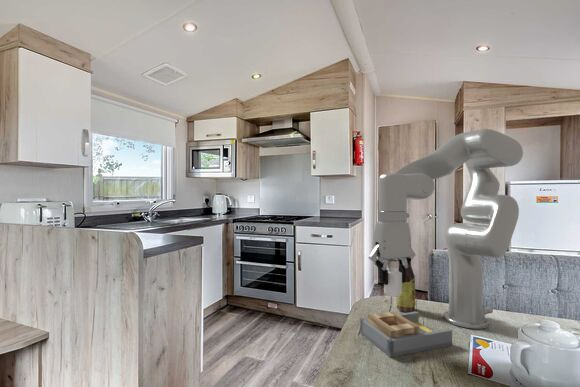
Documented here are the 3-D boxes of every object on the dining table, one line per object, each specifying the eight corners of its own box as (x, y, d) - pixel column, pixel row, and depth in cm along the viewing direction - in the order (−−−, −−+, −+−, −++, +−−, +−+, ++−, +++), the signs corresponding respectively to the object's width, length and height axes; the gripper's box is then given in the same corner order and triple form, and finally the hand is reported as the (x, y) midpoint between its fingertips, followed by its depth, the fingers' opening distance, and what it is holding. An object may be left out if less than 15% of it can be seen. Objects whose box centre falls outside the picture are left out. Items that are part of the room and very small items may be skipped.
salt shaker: (388, 291, 87) (388, 258, 87) (402, 294, 85) (402, 260, 85) (383, 294, 84) (383, 260, 84) (397, 297, 82) (397, 262, 82)
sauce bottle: (416, 313, 104) (416, 256, 104) (397, 312, 105) (397, 255, 105) (413, 306, 110) (413, 252, 110) (395, 305, 111) (395, 251, 111)
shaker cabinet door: (393, 326, 91) (393, 311, 91) (419, 343, 81) (419, 326, 81) (367, 330, 88) (367, 315, 88) (390, 348, 78) (390, 331, 78)
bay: (415, 324, 96) (415, 311, 96) (452, 345, 82) (452, 330, 82) (360, 333, 89) (360, 319, 89) (389, 357, 76) (389, 341, 76)
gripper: (408, 216, 91) (408, 276, 91) (358, 217, 86) (358, 281, 86) (427, 217, 84) (427, 283, 84) (373, 219, 78) (373, 289, 78)
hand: (392, 281), depth 85 cm, fingers closed on salt shaker, 5 cm apart
